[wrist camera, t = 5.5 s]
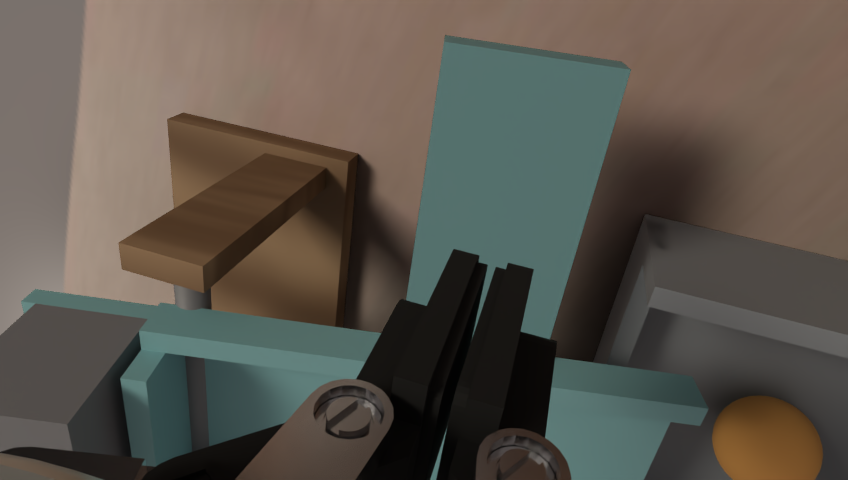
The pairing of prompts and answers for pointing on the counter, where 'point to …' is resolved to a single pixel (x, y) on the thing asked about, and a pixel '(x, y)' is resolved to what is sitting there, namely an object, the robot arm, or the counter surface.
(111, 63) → the counter surface
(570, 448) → the lever arm
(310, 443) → the robot arm
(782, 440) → the ball
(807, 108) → the counter surface
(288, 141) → the lever stand
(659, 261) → the bin
